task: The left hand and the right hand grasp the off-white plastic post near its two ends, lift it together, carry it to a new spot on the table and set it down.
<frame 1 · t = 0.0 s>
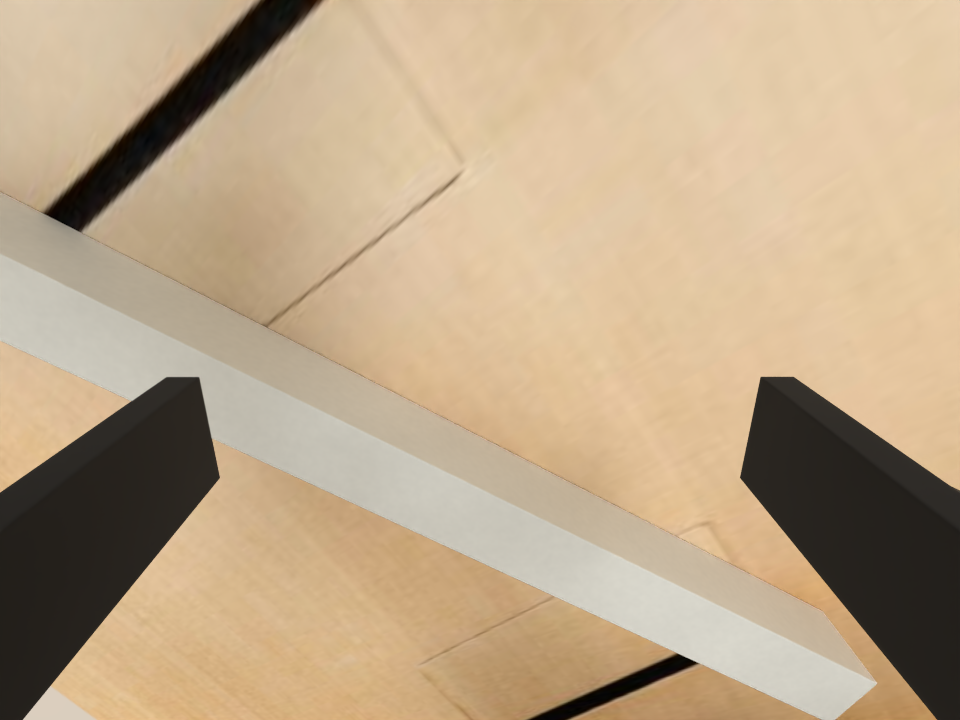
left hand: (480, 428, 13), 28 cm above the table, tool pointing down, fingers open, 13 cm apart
post: (444, 451, 45), on the table
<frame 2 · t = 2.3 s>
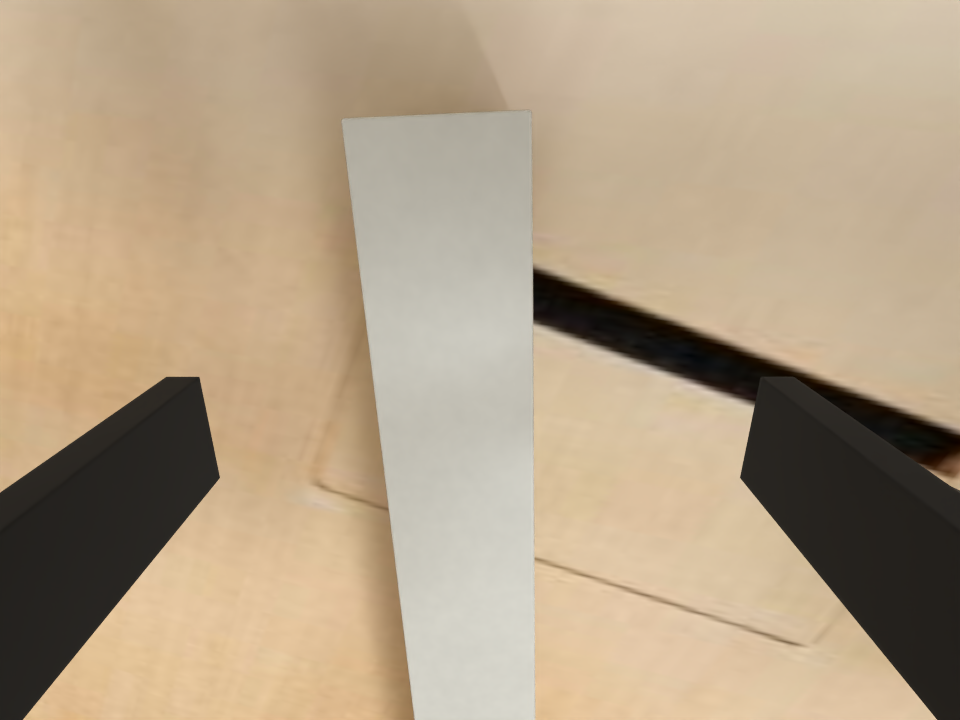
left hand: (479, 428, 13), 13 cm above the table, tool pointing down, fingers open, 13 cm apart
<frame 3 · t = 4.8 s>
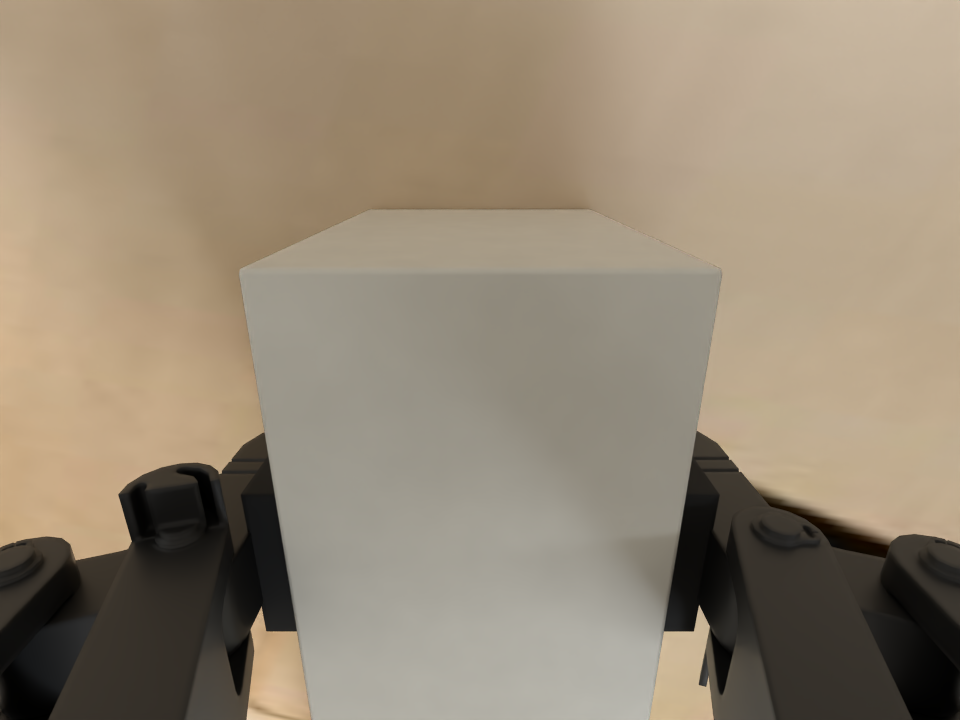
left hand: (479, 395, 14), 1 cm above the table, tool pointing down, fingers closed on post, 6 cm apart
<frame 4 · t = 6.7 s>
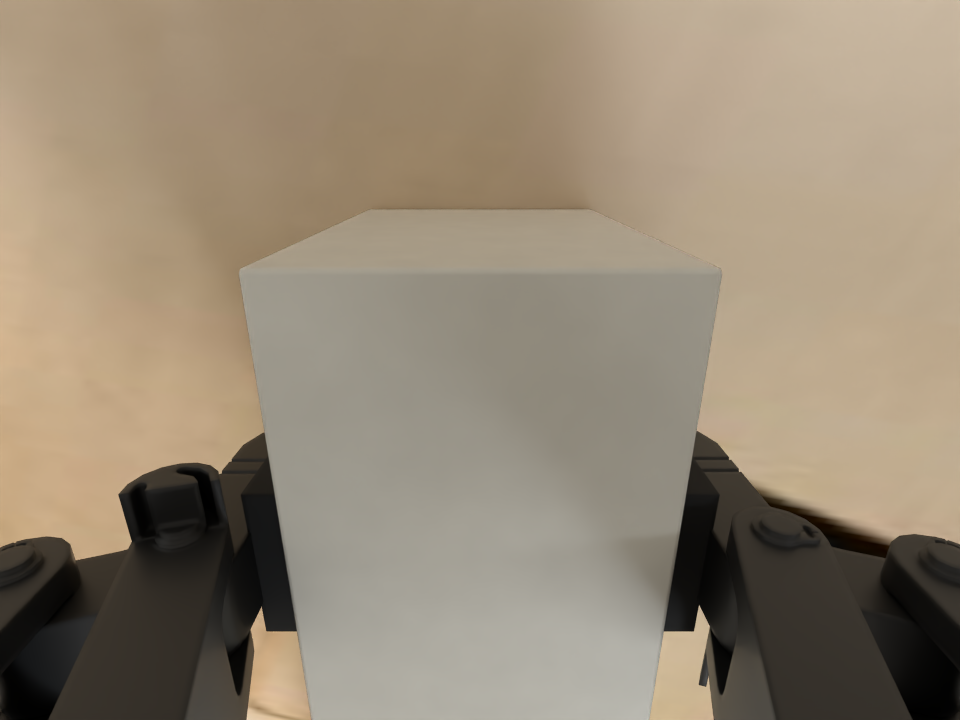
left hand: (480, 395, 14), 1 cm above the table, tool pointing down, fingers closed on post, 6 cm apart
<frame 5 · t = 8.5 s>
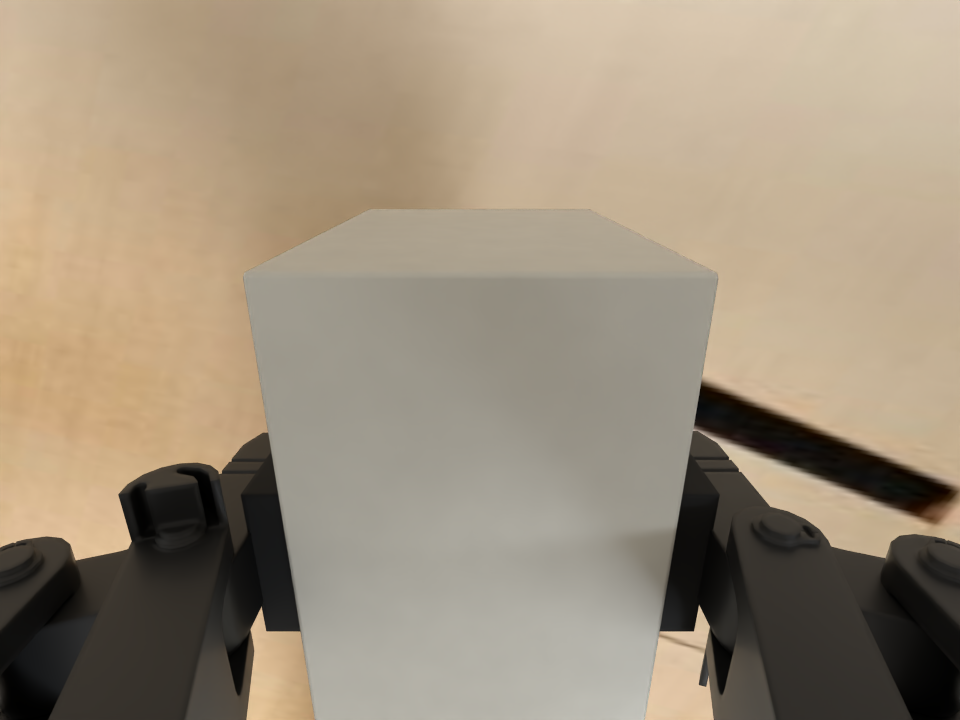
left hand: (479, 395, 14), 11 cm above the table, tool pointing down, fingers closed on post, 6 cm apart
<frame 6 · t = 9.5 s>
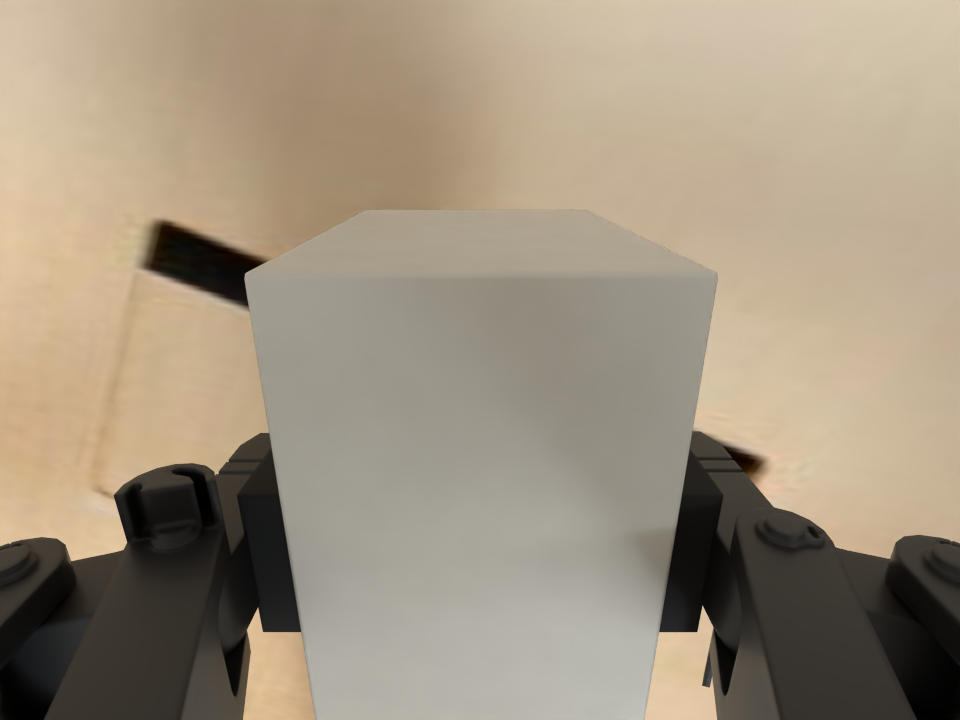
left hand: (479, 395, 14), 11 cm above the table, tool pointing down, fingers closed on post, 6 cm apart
when the left hand's fingers open (2 cm above the table, at t = 12.4 s): post drops 1 cm, on the table.
when the right hand's fingers open (4 cm above the table, at t = 12.5 s): post stays where it is, on the table.
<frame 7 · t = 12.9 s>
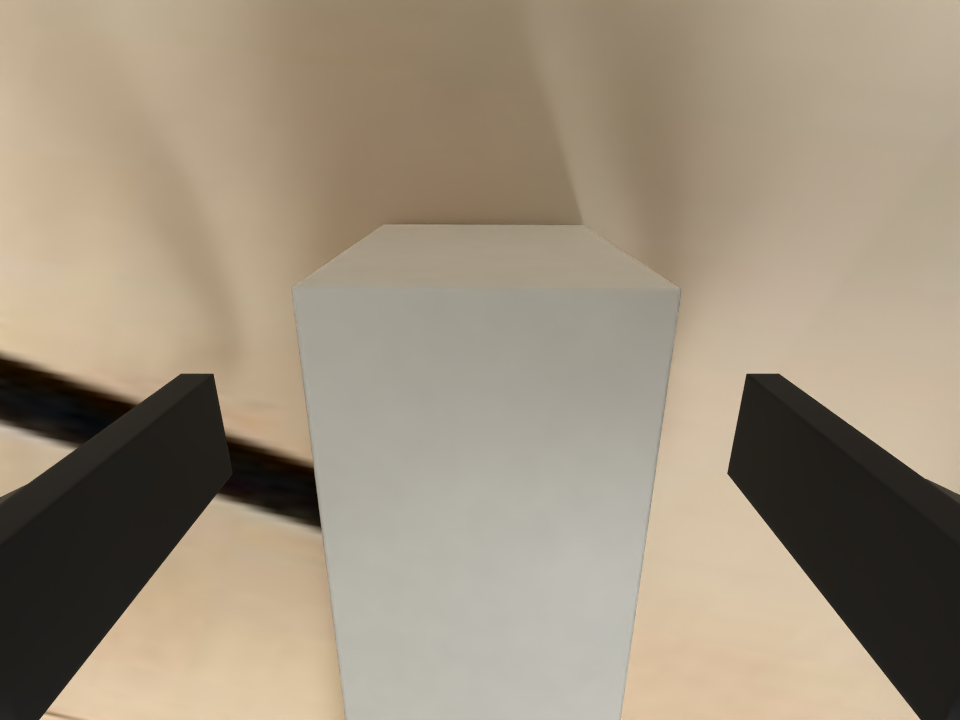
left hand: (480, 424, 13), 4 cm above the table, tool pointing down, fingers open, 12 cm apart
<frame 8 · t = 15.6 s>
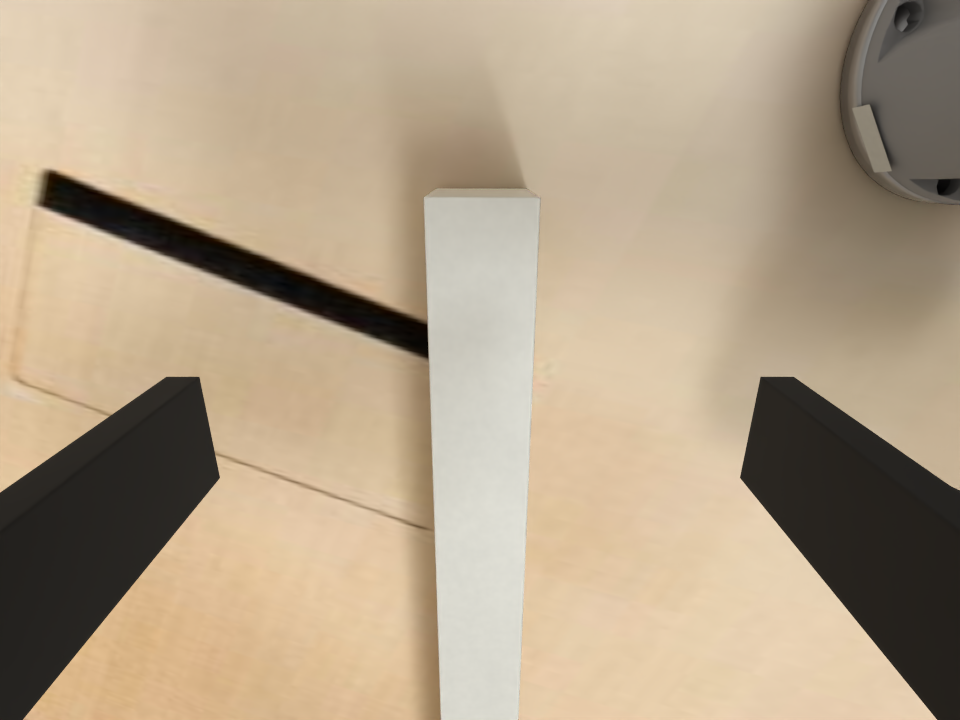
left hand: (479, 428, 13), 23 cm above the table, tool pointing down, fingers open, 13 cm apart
post: (479, 665, 47), on the table
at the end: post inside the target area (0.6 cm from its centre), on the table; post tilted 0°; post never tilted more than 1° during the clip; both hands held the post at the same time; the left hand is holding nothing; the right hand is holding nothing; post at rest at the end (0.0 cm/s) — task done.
